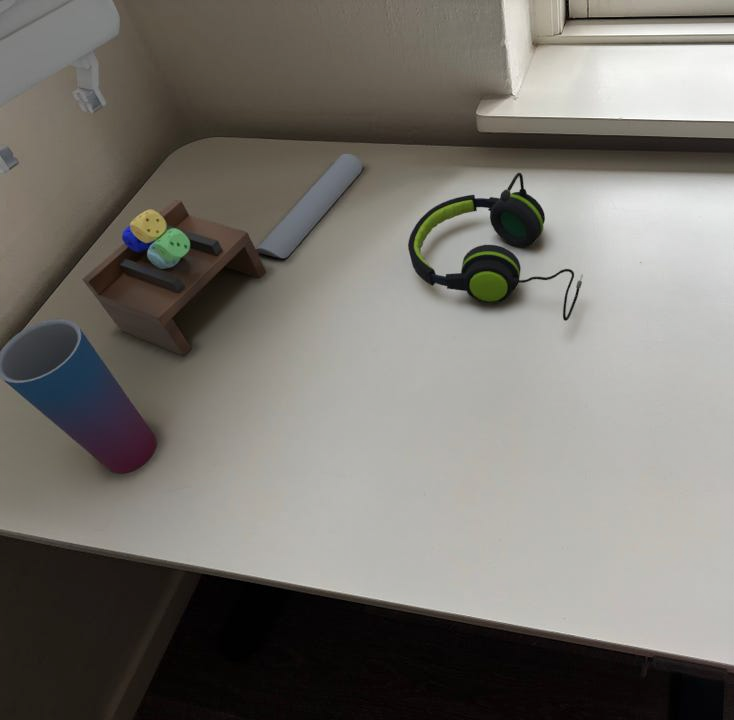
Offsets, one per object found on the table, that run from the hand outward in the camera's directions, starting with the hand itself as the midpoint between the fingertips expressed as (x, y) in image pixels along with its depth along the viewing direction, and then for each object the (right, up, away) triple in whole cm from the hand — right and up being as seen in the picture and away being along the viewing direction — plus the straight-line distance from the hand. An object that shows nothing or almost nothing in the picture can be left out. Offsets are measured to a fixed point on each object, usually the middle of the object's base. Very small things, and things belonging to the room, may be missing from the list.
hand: (53, 137), depth 60 cm
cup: (+2, -28, +9) cm, 29 cm away
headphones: (+38, -9, +18) cm, 43 cm away
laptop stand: (+3, -12, +22) cm, 25 cm away
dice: (+2, -8, +17) cm, 19 cm away
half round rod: (+15, 0, +30) cm, 34 cm away
